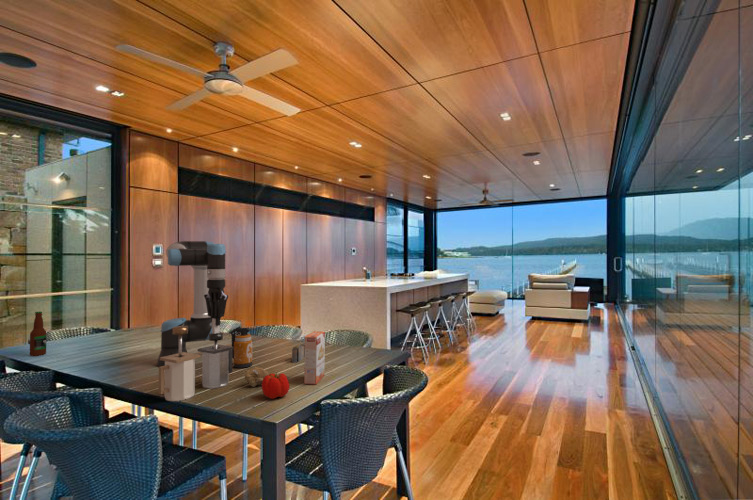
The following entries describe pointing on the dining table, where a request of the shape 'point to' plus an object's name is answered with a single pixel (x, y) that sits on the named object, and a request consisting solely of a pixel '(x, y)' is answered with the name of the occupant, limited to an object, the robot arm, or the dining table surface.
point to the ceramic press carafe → (178, 376)
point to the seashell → (255, 376)
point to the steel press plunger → (215, 338)
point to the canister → (241, 347)
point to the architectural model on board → (298, 353)
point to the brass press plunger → (180, 335)
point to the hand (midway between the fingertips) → (215, 333)
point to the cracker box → (314, 357)
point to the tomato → (275, 385)
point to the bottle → (38, 337)
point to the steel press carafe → (216, 366)
